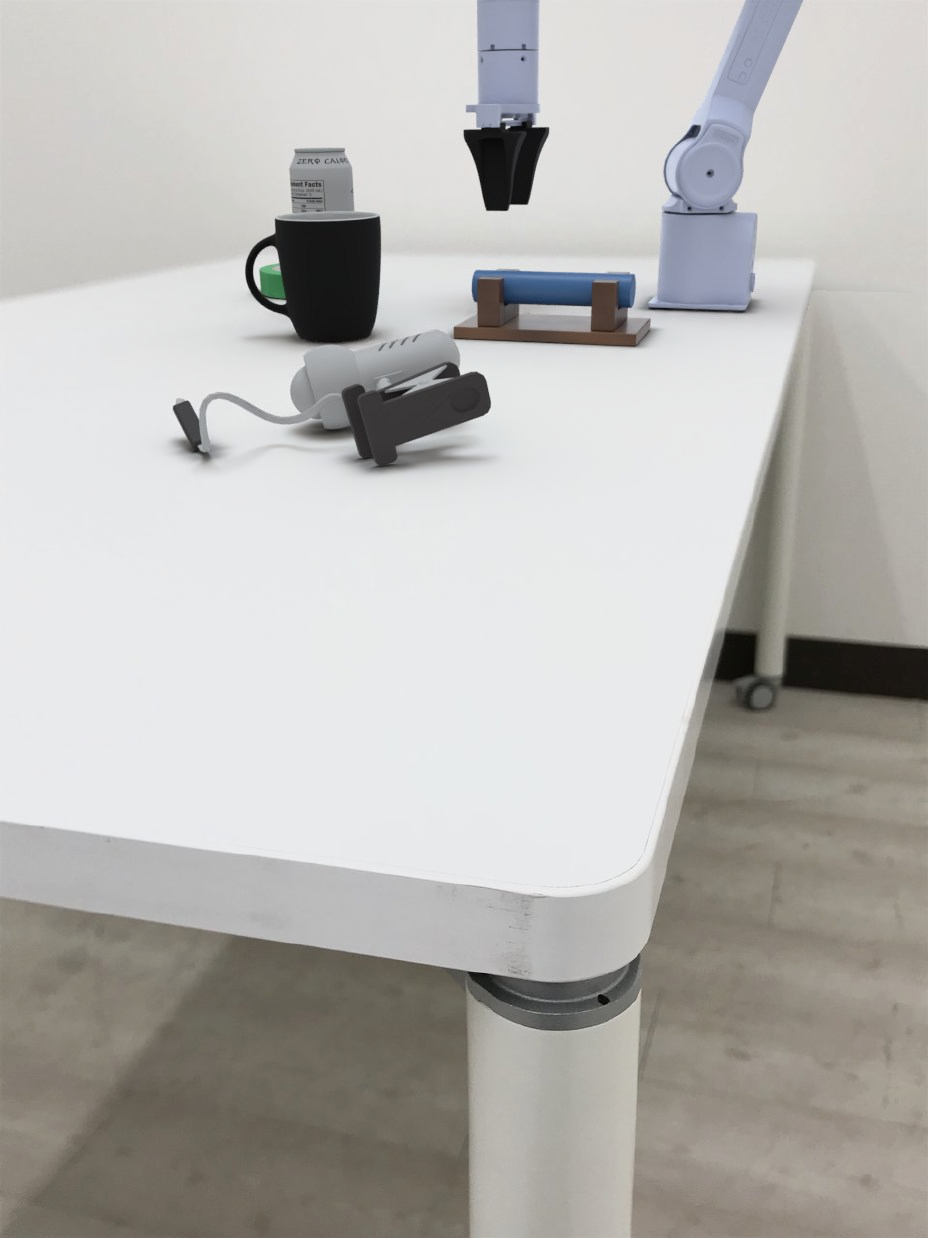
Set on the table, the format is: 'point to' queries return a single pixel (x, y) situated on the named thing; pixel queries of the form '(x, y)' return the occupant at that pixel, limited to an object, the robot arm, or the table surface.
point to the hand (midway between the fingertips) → (507, 207)
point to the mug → (325, 273)
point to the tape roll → (271, 281)
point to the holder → (552, 319)
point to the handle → (556, 287)
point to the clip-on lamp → (371, 394)
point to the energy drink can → (321, 180)
